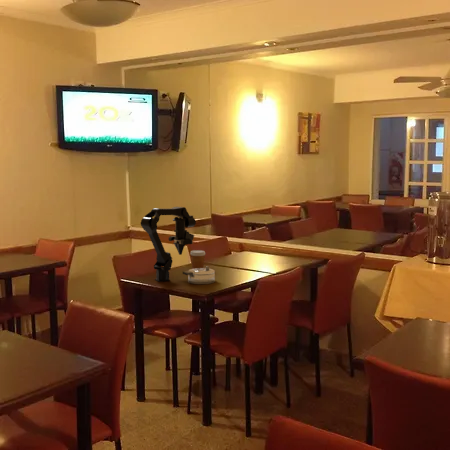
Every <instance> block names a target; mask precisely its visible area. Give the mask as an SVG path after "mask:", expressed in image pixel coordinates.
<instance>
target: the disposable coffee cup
mask: <svg viewBox="0 0 450 450" xmlns="http://www.w3.org/2000/svg"><path fill="white" fill-rule="evenodd" d="M189 255H190V257H191V258H190V259H191V265H192V268H191V269H195V268H204V265H205V256H206V252H205V250H201V249H198V250H197V249H196V250H195V249H193V250H191V251H190V253H189Z"/></svg>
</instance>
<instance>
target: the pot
mask: <svg viewBox="0 0 450 450" xmlns="http://www.w3.org/2000/svg"><path fill="white" fill-rule="evenodd" d="M215 273H216V272H215ZM215 273H214V274H210V275H187V276H188V278H187V279H188V280H187V282H188V283H189V284H193V285H209V284H213V283H215V282H216V279H215V278H216V277H215V276H216V274H215Z"/></svg>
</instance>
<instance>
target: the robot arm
mask: <svg viewBox="0 0 450 450" xmlns="http://www.w3.org/2000/svg"><path fill="white" fill-rule="evenodd" d="M161 216H173V217H174V218H173V219H172V221H173V222H174V223H175V226H174V227H175V229H174V230H173V232H174V234H175V235H169V237H168V242H172V241H173V245H174V246H175V247H174V248H175V249H176V250H177V253H178V255H181V256H182V254H183V251H184V248H185V247H186V246H187V245H193V244H194V242H193V240H194V237H195V234H193V233H190V232H189V231H188V230H187V228H192V227H193V228H194V227H195V226H196V225H197V221H196V219H195V217H194V215H191V214H190V213H189V212H188V210H187V208H186V207H185V206H173V207H171V208H159V207H158V208H157V207H155V208H152V209H151V211H149V212H148V213H146V214H145V215H144V217H142V218H141V220H140V226H141V227H142V229H143V230H144V231H145V232H146V233H147V234H148V236H149V239H150V242H151V244H152V246H153V248H154V250H155V253H156V261H155V263H154V265H153V269H154V270H155V271H156V274H155V276H156V278H155V279H154V281H157V282H159V283H161V282H167V281H171V280H170V272H169V271H171V269H172V266H173V257H172V255H171V252H168V251H166V250H165V248H164V245H163V242H162V240H161V238H160V236H159V233H158V231H157V229H158V222H159V221H160V218H161Z"/></svg>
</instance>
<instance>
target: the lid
mask: <svg viewBox="0 0 450 450" xmlns="http://www.w3.org/2000/svg"><path fill="white" fill-rule="evenodd" d="M214 273H216V270H215V269H212V268H210V266H209V265H207V266H205V267H203V268H195V269H193V268H191V269H188V270H185V271H182V274H183V275H185V276H188V275H210V274H214Z"/></svg>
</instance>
